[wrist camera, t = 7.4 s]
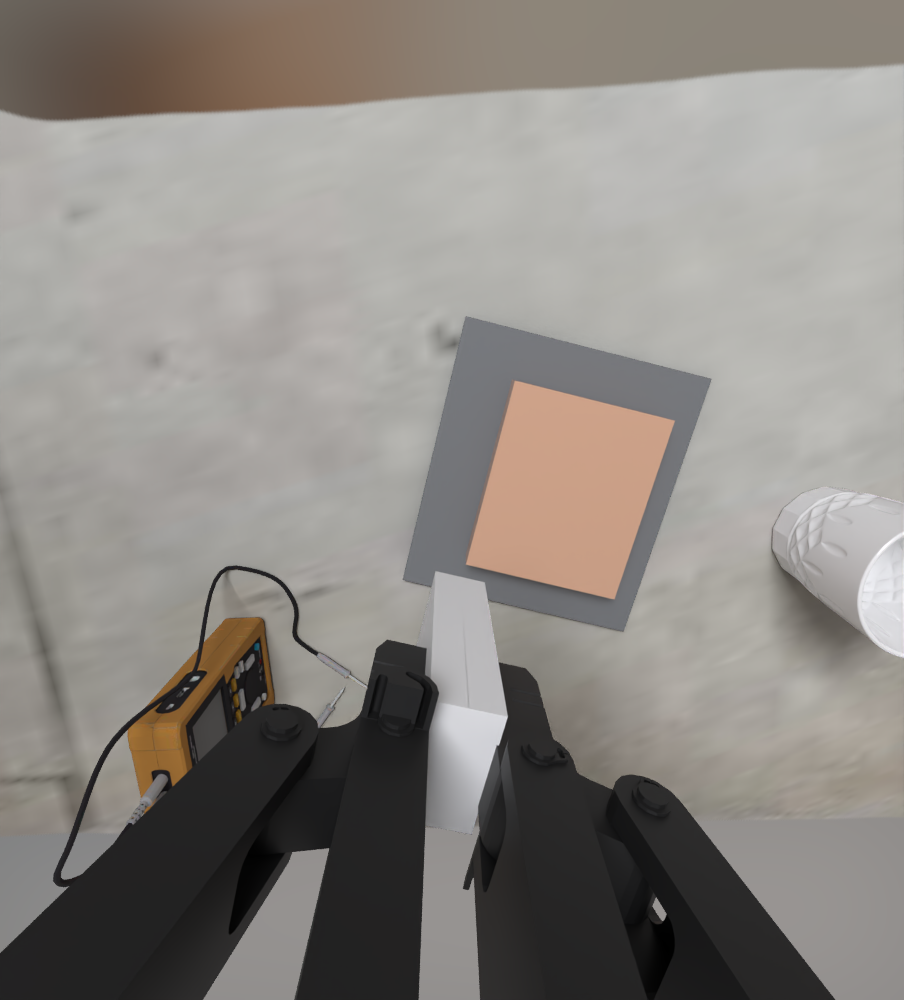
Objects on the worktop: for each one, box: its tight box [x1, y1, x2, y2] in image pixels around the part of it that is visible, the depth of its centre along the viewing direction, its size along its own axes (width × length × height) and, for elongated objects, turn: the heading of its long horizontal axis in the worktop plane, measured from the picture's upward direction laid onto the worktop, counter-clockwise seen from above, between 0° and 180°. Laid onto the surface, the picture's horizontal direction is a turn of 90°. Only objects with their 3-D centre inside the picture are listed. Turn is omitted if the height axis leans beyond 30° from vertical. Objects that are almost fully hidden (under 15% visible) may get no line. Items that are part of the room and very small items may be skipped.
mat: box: [403, 316, 711, 631], centre depth 39 cm, size 16×18×1 cm
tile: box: [466, 379, 675, 599], centre depth 37 cm, size 2×12×10 cm
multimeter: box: [53, 566, 367, 887], centre depth 33 cm, size 15×10×20 cm
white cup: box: [772, 486, 904, 658], centre depth 35 cm, size 8×8×10 cm
